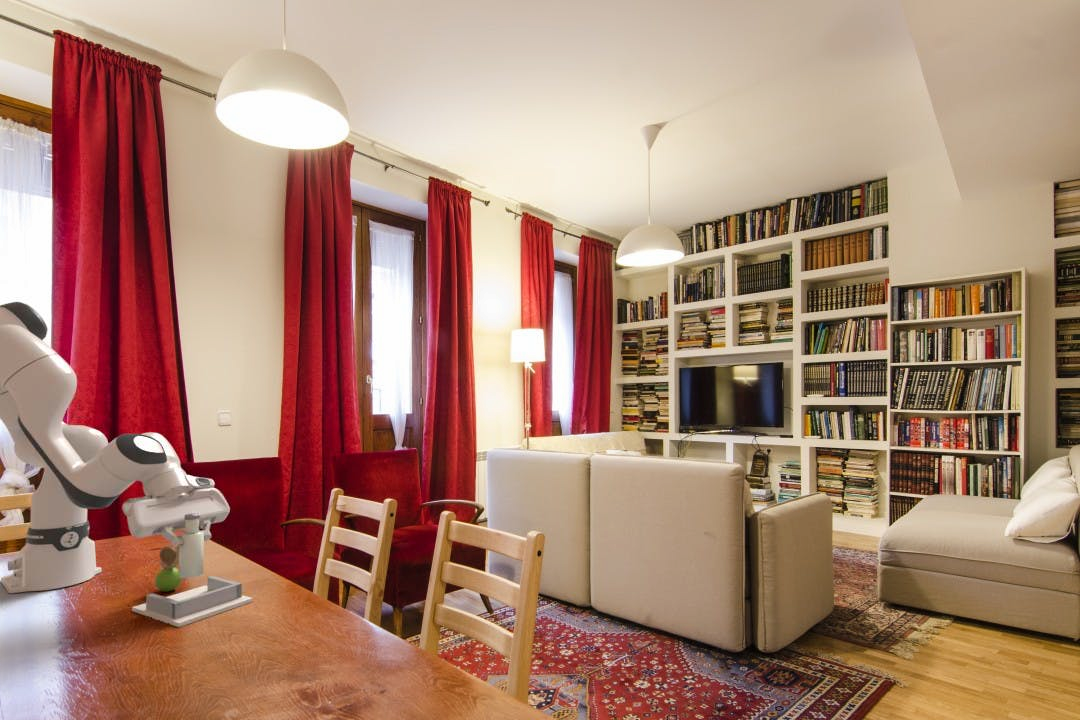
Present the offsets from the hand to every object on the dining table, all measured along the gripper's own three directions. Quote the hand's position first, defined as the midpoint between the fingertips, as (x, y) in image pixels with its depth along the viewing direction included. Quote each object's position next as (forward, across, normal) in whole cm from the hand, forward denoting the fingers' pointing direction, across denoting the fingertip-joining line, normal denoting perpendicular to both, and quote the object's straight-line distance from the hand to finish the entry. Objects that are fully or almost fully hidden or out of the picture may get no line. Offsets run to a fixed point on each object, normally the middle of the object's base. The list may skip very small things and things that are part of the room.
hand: (193, 541), depth 129 cm
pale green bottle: (+5, 0, +6) cm, 7 cm away
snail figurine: (-1, +4, +21) cm, 22 cm away
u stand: (+10, +1, +11) cm, 14 cm away
